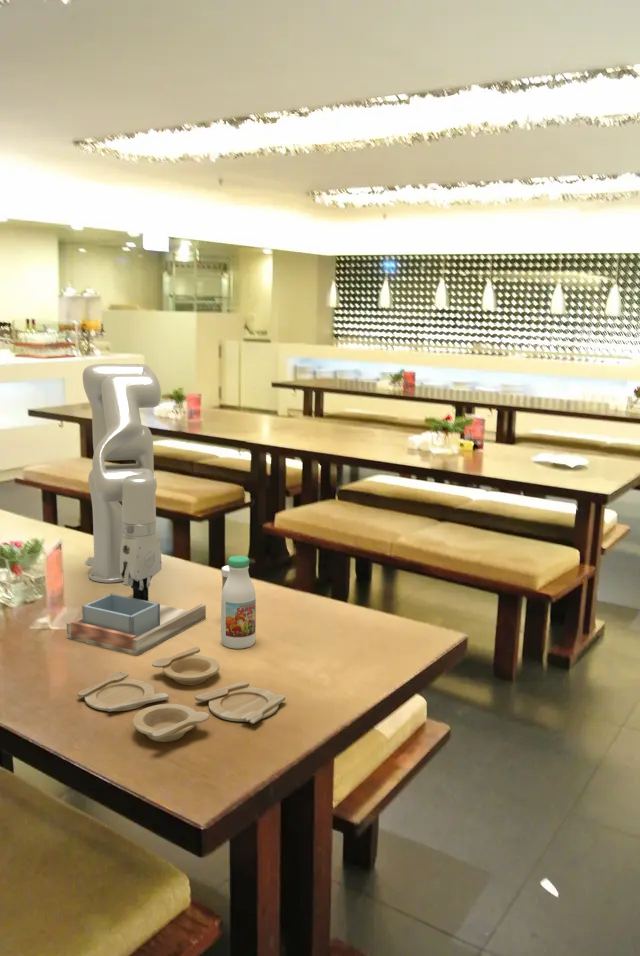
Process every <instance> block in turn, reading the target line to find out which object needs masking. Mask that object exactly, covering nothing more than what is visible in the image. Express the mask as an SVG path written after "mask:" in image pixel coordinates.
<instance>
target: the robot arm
mask: <svg viewBox="0 0 640 956" xmlns="http://www.w3.org/2000/svg"><path fill="white" fill-rule="evenodd" d="M82 384H83V390H84V391H85V395H86V397H87V399H88V403H89V405H90V408H91V422H92V423H91V424H92V445H93V446H92V448H93V456H92V464H91V467H92V469H91V470H90V471H89V473H88V476H87V477H88V489H89V493H90V500H91V506H92V529H93V531H92V532H93V533H92V534H93V557H92V556H89V557H88V558H87V560H86V561H85V563H84V564H85V566H87V567H91V570H90V571H89V572H88V578H89V579H90V580H91V581H94V582H98V583H104V584H105V583H109V584H110V583H120V582H122V584H123V586H126V587H130V588H131V589H132V594H133V598H136V599H140V600H145V601H149V588H150V586H151V580H152V578H153V577H154V576H155V575H157V574H158V573H160V571H162V563H163V562H162V549H161V542H160V536H159V532H158V531H157V506H156V503H157V502H156V498H157V497H156V495H157V494H156V491H157V489H158V488H157V486H158V484H157V477H156V474H155V470H154V467H155V466H154V464H155V463H154V462H155V461H154V460H155V459H154V439H153V438H154V437H153V434H152V431H151V430H150V428H149V427H147V426H146V425H143V424H142V419H141V412H140V409H145V408H147V409H149V408H153V409H154V408H156V407H157V406H159V404H160V403H161V400H162V391H161V390H162V389H161V385H160V382H159V379H158V377H157V375H156V374H155V373H154V371H153V370H152V368H151V367H149V366H148V365H147V364H143V363H97V364H90V365H88V366H86V367H85V368H84V369H83V372H82ZM128 460H134V461H135V463H119V464H118V463H113V464H106V463H105V462H106V461H128ZM120 502H121V503H120Z"/></svg>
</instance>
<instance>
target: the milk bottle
mask: <svg viewBox="0 0 640 956" xmlns="http://www.w3.org/2000/svg"><path fill="white" fill-rule="evenodd" d="M227 563H228V565H229V567H228V568H229V575H228V578H227V580H226V582H225V584H224V587H223V590H222V589H221V602H220V603H221V605H220V606H221V609H220V610H221V613H220V616H221V617H220V628H221V629H220V632H221V633H220V637H221V639H220V641H221V644H222V645H223V646H224V647H226V648H230V649H238V650H239V649H246V648H249V647H252V646H253V645H254V644H255V642H256V634H257V633H256V627H257V626H256V623H257V622H256V620H257V618H256V616H257V615H256V614H257V612H256V611H257V610H256V609H257V607H256V605H257V604H256V601H257V600H256V591H255V590H256V589H255V587H254V583H253V582H252V580H251V577H250V574H249V573H250V572H249V568H250V566H249V565H250V558H249V557H248V556H245V555H233V556H230V557H229V558H228V560H227Z"/></svg>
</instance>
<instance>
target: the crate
mask: <svg viewBox="0 0 640 956" xmlns="http://www.w3.org/2000/svg"><path fill="white" fill-rule="evenodd" d="M160 605H161V603H158V602H154V601H150V600H148V601H145V600H140V599H136V598H131V597H128V596H126V595H123V594H122V595H121V594H116V593H109V594H107V595H105V596H103V597H100V598H98V599H95V600H93V601H90V602H89V603H86V604H84V605H82V606H81V611H82V613H81V614H82V616H81V617H83V623H86V624H90V625H94V626H98V627H103V628H107V629H111V630H115V631H119V632H124V633H128V634H132V635H136V638H137V637H139V636H140V635H142V634H144V633H146V632H148V631H150V630H152V629H154V628H156V627H158V626H160Z"/></svg>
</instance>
